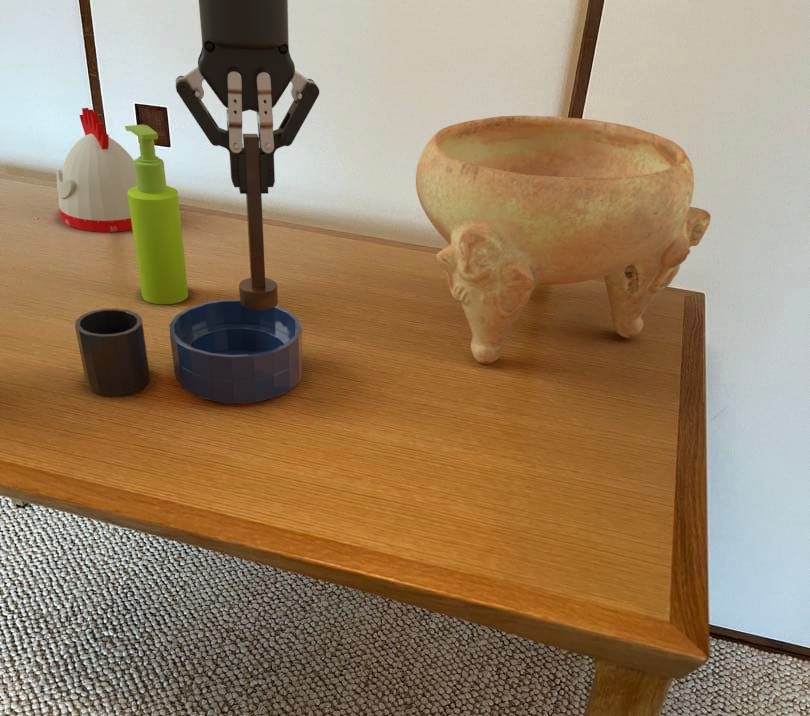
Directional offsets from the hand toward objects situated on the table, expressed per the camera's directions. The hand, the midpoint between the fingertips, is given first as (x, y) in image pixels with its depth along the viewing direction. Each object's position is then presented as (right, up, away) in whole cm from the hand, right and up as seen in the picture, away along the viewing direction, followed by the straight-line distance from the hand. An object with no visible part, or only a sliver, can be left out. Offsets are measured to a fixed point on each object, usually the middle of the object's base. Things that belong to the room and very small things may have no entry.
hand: (253, 190), depth 80 cm
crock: (-17, -17, +9) cm, 25 cm away
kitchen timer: (-32, +16, +48) cm, 60 cm away
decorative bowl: (+31, -5, +29) cm, 43 cm away
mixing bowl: (-4, -16, +12) cm, 20 cm away
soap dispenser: (-17, -2, +28) cm, 32 cm away
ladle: (-1, -9, +7) cm, 12 cm away
